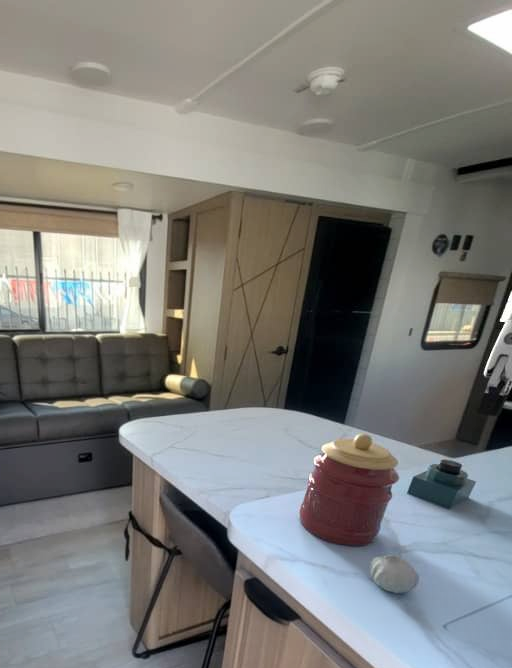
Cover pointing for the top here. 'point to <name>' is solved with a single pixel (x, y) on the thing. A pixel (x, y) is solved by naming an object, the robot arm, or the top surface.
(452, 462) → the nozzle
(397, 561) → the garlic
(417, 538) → the top surface
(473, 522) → the top surface
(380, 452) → the kitchen canister
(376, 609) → the top surface
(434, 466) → the green push button box
